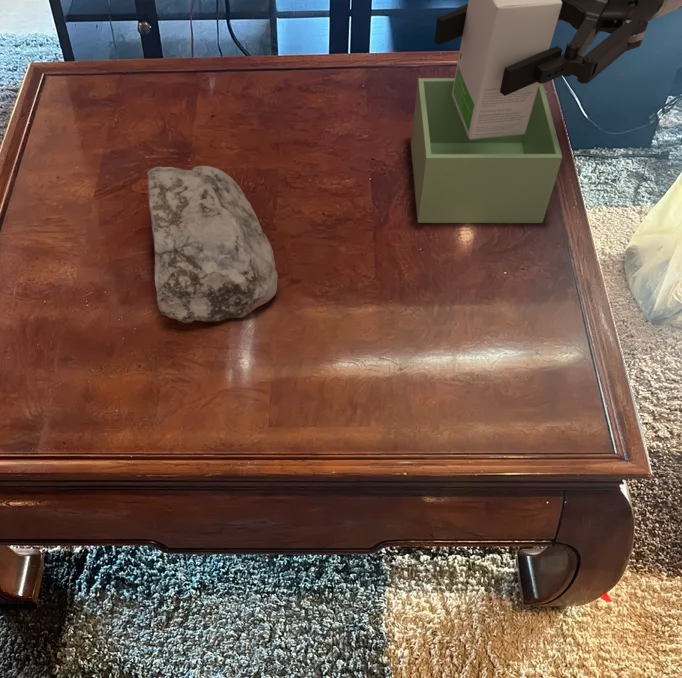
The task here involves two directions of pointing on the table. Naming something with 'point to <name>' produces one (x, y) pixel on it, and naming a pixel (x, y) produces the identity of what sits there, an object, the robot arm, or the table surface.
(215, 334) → the table surface
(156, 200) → the decorative stone
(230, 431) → the table surface
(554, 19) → the cosmetic box
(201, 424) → the table surface
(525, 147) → the bin
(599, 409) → the table surface
